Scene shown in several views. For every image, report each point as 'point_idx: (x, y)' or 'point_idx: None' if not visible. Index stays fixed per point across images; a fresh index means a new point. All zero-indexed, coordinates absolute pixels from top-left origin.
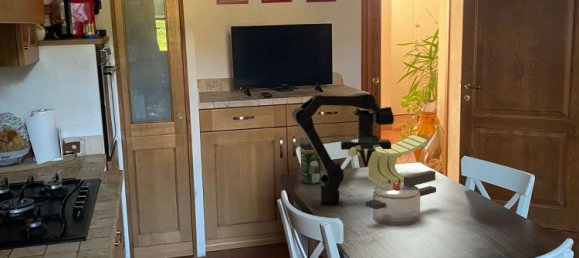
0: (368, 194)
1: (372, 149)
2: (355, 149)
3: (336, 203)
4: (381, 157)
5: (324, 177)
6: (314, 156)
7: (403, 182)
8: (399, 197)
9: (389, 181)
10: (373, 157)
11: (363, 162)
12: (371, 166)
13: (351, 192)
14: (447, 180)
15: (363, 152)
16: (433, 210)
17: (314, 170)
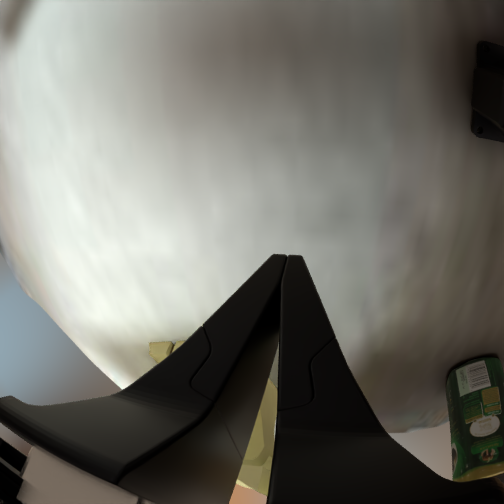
0: (291, 224)
1: (68, 467)
2: None
3: (488, 44)
4: None
5: None
6: (487, 452)
7: (162, 342)
8: None
9: None
10: (248, 452)
11: (318, 294)
12: (262, 425)
13: (374, 261)
14: (67, 333)
15: (302, 459)
16: (12, 19)
17: (482, 401)
